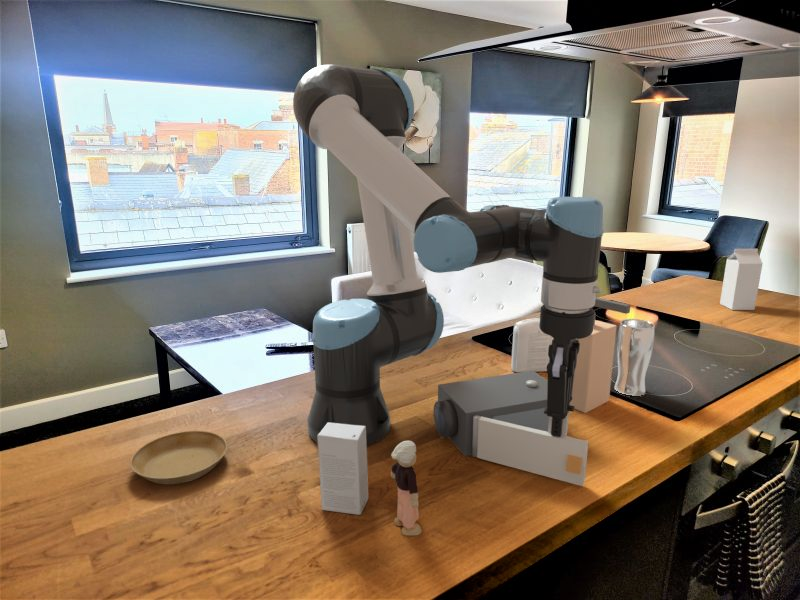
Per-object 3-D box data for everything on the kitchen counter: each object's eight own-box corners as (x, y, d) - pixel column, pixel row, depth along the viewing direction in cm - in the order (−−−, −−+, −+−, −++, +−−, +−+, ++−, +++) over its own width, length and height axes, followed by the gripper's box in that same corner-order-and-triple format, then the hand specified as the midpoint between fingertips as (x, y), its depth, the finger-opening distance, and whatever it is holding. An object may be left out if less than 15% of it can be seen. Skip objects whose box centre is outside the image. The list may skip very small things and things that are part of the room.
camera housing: (452, 459, 92) (453, 412, 90) (426, 425, 103) (426, 383, 101) (566, 436, 99) (570, 392, 97) (530, 407, 110) (533, 367, 108)
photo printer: (550, 364, 132) (553, 315, 129) (557, 371, 128) (561, 320, 124) (508, 367, 131) (511, 317, 127) (514, 374, 126) (517, 322, 123)
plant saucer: (158, 442, 99) (156, 429, 98) (240, 443, 98) (239, 430, 97) (114, 492, 84) (111, 477, 84) (209, 494, 84) (208, 479, 83)
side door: (469, 458, 92) (470, 419, 90) (473, 452, 93) (474, 414, 91) (581, 489, 83) (585, 447, 81) (584, 482, 85) (588, 441, 83)
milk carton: (754, 310, 174) (764, 250, 169) (731, 310, 174) (741, 250, 169) (741, 304, 181) (751, 246, 176) (719, 304, 181) (728, 246, 176)
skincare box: (369, 498, 82) (367, 425, 79) (360, 516, 78) (358, 440, 75) (330, 493, 84) (327, 421, 80) (320, 510, 80) (316, 435, 76)
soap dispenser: (548, 398, 114) (556, 295, 108) (572, 387, 119) (581, 288, 114) (604, 421, 105) (616, 309, 99) (628, 408, 110) (640, 301, 104)
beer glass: (620, 381, 122) (627, 316, 118) (652, 390, 118) (661, 323, 114) (606, 390, 118) (613, 323, 114) (639, 401, 113) (647, 331, 109)
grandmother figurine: (434, 533, 75) (435, 449, 71) (411, 545, 72) (411, 459, 69) (401, 504, 81) (400, 425, 77) (379, 514, 79) (377, 434, 75)
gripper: (588, 322, 73) (574, 478, 80) (600, 297, 84) (586, 436, 91) (531, 315, 76) (522, 465, 83) (550, 292, 87) (540, 426, 94)
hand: (556, 450), depth 87 cm, fingers closed
